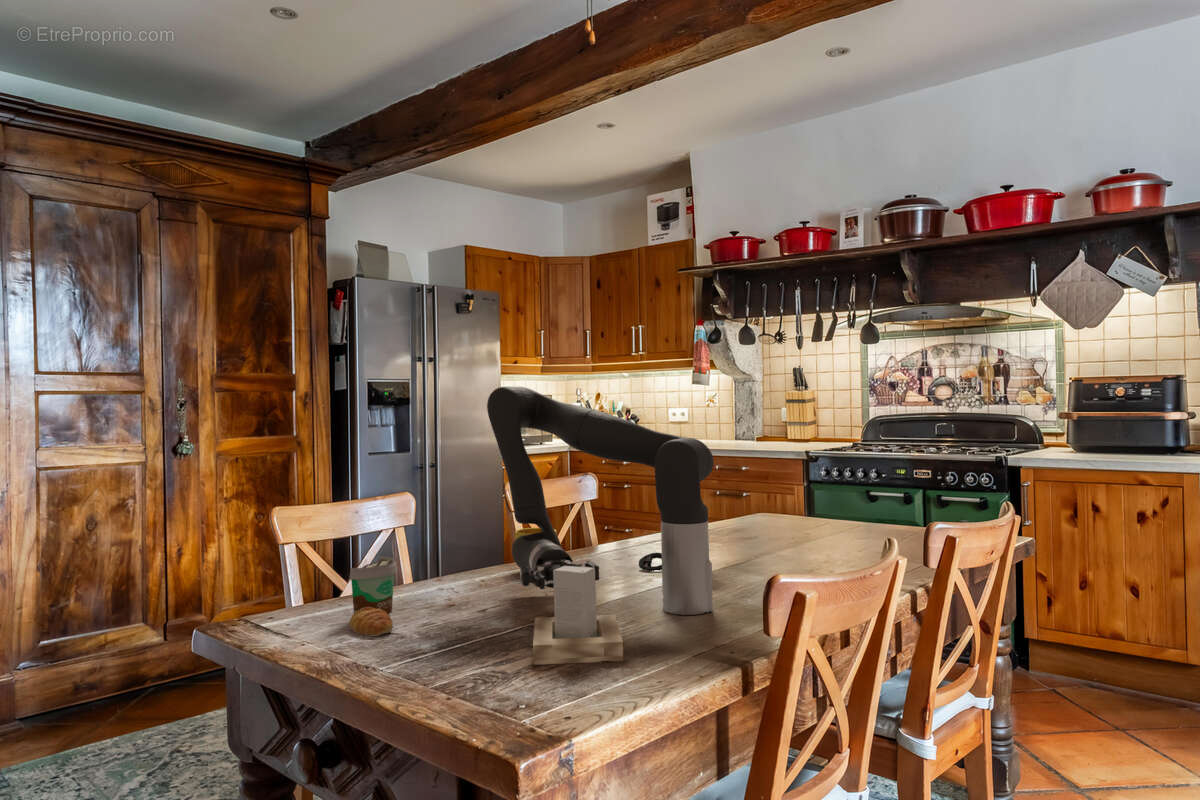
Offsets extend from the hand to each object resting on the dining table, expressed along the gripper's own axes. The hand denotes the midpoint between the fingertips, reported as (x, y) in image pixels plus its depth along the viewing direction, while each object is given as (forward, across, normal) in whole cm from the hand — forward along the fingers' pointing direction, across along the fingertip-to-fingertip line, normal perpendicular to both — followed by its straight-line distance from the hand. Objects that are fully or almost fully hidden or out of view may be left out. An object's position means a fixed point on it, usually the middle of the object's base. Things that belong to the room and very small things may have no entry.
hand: (566, 581), depth 137 cm
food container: (-26, -33, +9) cm, 42 cm away
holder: (+8, 0, +9) cm, 12 cm away
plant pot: (-55, +4, +9) cm, 56 cm away
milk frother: (-42, +34, +10) cm, 55 cm away
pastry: (-14, -34, +10) cm, 37 cm away
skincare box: (+8, 0, +8) cm, 12 cm away
